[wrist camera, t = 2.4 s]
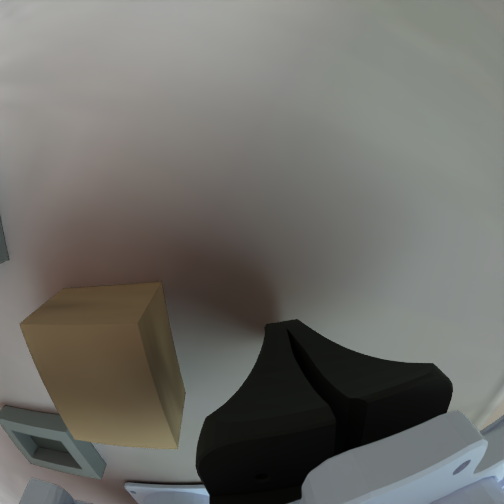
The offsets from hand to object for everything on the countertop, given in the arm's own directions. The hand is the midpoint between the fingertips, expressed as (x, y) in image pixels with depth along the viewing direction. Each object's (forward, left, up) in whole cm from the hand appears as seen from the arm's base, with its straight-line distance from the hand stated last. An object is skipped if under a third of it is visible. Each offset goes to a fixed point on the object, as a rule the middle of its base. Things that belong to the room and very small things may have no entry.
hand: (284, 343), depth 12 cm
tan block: (0, +7, -2) cm, 7 cm away
